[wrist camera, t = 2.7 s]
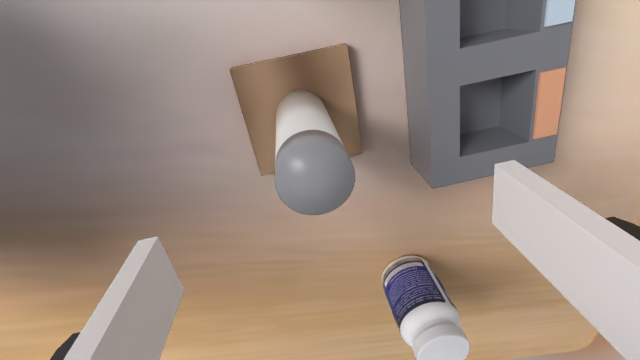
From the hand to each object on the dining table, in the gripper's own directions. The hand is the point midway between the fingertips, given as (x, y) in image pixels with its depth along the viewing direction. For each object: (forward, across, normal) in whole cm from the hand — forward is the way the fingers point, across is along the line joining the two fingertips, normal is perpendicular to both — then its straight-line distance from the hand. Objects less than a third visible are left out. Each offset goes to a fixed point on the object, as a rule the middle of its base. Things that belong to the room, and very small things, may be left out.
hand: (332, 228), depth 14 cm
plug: (+16, 0, 0) cm, 16 cm away
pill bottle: (+18, +7, -20) cm, 28 cm away
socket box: (+17, +14, +2) cm, 22 cm away
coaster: (+17, 0, 0) cm, 17 cm away
